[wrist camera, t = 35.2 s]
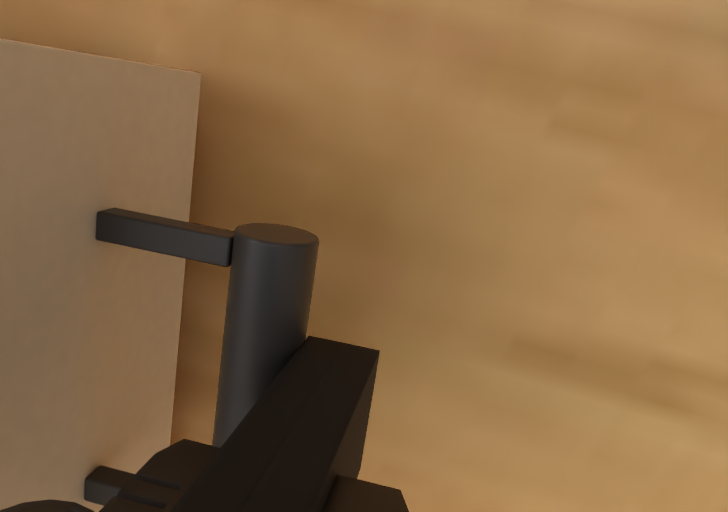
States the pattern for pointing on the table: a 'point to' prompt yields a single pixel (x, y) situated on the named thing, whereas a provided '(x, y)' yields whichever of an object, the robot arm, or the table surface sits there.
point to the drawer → (117, 273)
